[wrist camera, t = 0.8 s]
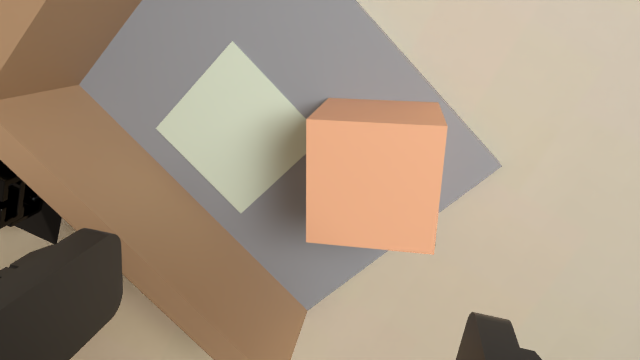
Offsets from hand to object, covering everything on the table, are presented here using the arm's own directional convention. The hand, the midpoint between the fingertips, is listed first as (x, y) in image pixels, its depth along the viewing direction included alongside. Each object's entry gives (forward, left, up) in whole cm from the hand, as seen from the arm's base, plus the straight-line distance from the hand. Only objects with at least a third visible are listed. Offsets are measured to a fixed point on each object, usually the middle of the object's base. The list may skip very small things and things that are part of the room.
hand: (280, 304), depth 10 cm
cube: (-2, 0, -17) cm, 17 cm away
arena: (+4, +4, -18) cm, 19 cm away
